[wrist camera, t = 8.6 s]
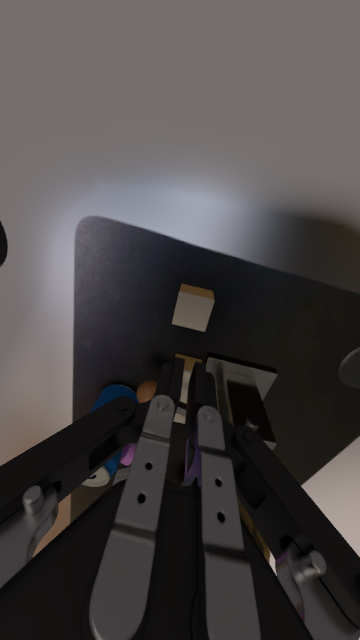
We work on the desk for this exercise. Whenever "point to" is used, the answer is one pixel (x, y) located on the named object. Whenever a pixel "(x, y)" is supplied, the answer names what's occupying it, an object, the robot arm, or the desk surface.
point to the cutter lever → (148, 391)
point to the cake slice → (193, 307)
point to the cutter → (242, 393)
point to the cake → (185, 382)
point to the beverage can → (111, 466)
